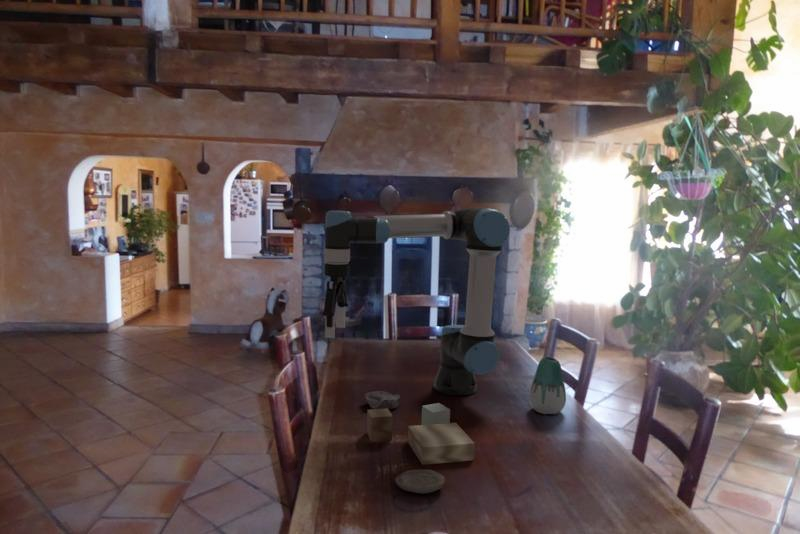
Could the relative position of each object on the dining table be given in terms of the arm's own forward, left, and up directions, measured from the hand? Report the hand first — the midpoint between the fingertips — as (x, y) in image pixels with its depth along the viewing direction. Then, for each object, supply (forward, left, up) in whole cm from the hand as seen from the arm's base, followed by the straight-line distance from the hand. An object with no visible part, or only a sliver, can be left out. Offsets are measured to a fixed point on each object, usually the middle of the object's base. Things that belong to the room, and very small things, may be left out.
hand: (335, 332), depth 176 cm
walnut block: (-10, +18, -26) cm, 33 cm away
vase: (-68, +8, -26) cm, 74 cm away
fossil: (-13, +48, -27) cm, 56 cm away
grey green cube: (-28, +14, -26) cm, 41 cm away
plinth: (-24, +30, -26) cm, 47 cm away
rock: (-16, -5, -26) cm, 32 cm away
